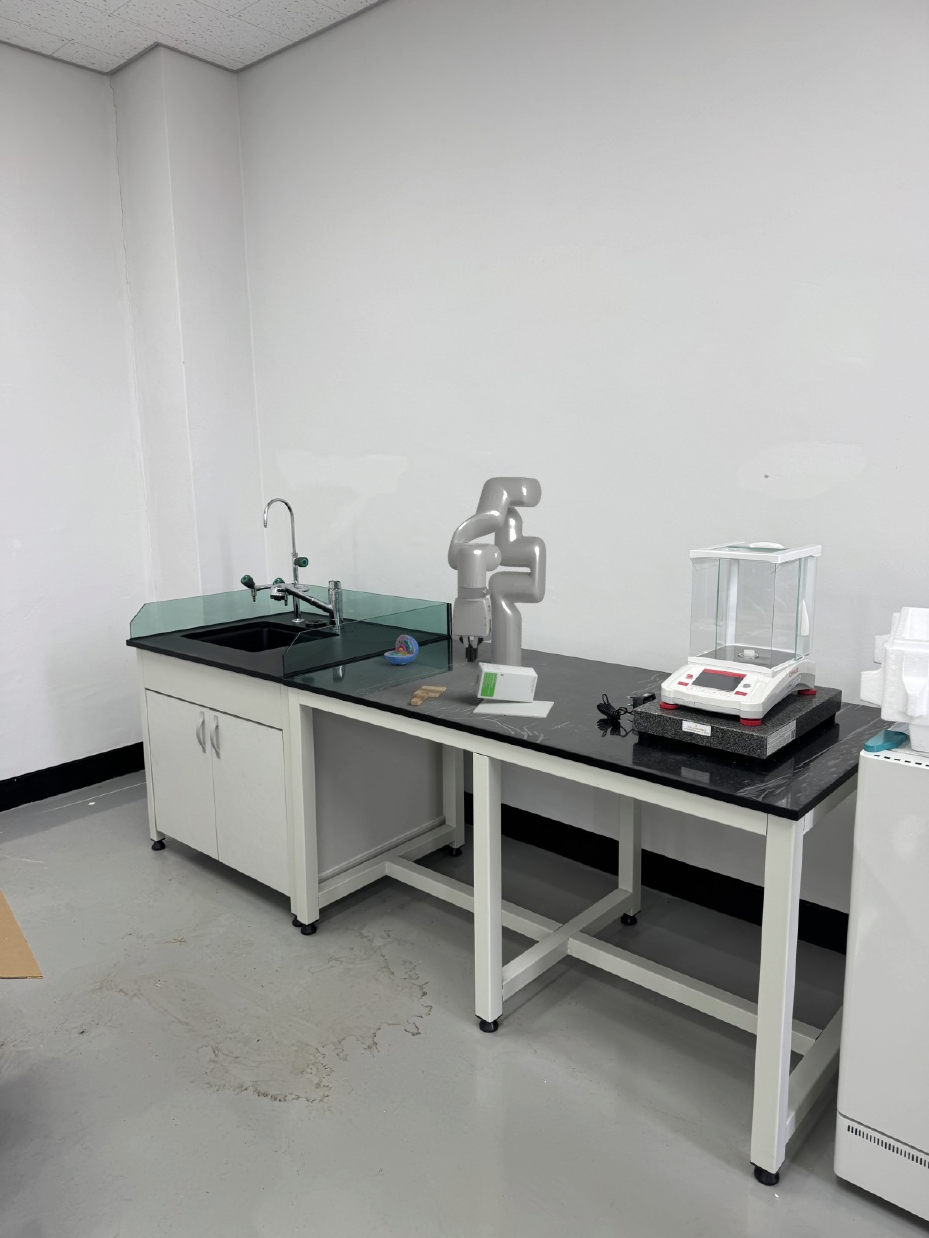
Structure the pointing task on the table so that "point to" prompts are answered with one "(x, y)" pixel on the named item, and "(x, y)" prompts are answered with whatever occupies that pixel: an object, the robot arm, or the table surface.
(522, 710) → the mat
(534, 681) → the skincare box
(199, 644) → the table surface
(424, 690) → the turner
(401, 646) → the cell model
